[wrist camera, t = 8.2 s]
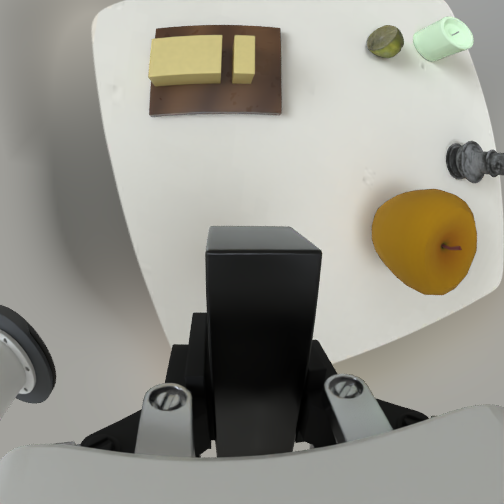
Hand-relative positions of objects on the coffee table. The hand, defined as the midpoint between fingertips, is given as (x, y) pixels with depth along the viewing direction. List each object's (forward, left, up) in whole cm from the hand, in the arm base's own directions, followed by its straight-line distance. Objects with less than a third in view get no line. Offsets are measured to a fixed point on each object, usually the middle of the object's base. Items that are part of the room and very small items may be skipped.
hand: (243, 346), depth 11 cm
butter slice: (+2, +19, -21) cm, 28 cm away
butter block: (-4, +19, -21) cm, 29 cm away
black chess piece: (+33, +11, -23) cm, 41 cm away
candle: (+28, +28, -23) cm, 45 cm away
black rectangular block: (0, 0, -4) cm, 4 cm away
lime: (+19, +25, -23) cm, 38 cm away
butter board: (-1, +19, -22) cm, 29 cm away
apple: (+21, +1, -23) cm, 31 cm away
